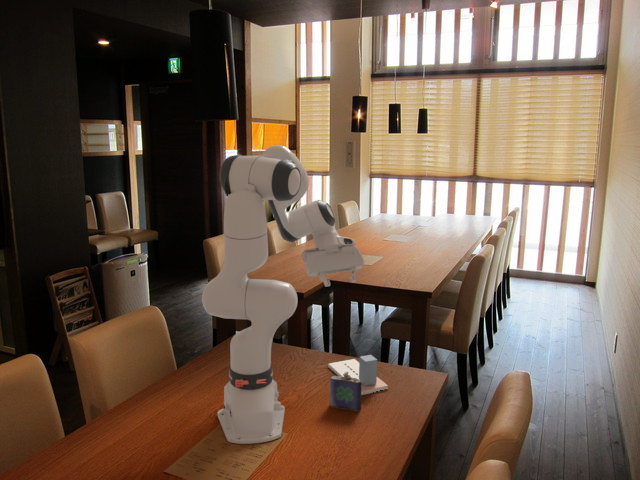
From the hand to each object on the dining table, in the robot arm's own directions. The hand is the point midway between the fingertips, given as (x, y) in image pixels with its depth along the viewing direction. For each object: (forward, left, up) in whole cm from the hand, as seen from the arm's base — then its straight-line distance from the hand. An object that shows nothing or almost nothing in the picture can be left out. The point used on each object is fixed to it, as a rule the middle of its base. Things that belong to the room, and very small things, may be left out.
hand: (341, 283), depth 175 cm
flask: (-26, +4, -30) cm, 40 cm away
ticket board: (-8, -4, -30) cm, 31 cm away
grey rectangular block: (-15, -6, -28) cm, 32 cm away
